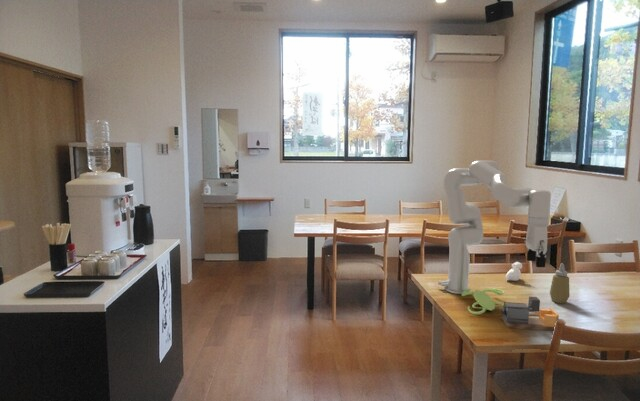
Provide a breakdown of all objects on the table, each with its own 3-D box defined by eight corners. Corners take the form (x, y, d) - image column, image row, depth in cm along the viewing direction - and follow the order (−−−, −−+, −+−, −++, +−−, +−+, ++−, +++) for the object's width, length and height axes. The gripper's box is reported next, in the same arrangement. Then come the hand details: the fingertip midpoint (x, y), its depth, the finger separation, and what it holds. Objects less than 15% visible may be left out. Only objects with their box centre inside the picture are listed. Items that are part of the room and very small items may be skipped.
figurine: (500, 297, 200) (501, 285, 199) (515, 319, 174) (516, 306, 173) (460, 294, 203) (460, 283, 203) (468, 315, 177) (469, 302, 177)
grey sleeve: (506, 322, 167) (507, 306, 166) (502, 317, 172) (504, 302, 171) (528, 324, 166) (529, 308, 165) (523, 319, 171) (524, 303, 170)
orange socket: (545, 326, 164) (546, 314, 163) (538, 319, 171) (539, 307, 170) (557, 327, 163) (558, 314, 163) (550, 320, 170) (551, 308, 169)
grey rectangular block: (508, 316, 167) (509, 298, 166) (505, 312, 171) (506, 295, 170) (540, 318, 165) (541, 300, 164) (536, 314, 169) (538, 297, 168)
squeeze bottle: (566, 299, 197) (570, 262, 195) (570, 305, 189) (574, 266, 187) (547, 297, 199) (550, 260, 197) (550, 303, 192) (554, 265, 190)
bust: (508, 286, 222) (523, 273, 215) (498, 275, 225) (512, 261, 219) (518, 281, 230) (532, 268, 223) (507, 271, 233) (521, 257, 227)
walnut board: (507, 327, 165) (508, 324, 165) (501, 318, 174) (501, 315, 174) (559, 331, 162) (560, 328, 162) (550, 321, 171) (550, 319, 171)
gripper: (520, 217, 175) (518, 258, 177) (536, 224, 158) (533, 269, 160) (539, 218, 174) (537, 258, 176) (557, 225, 157) (554, 270, 159)
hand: (535, 263), depth 168 cm, fingers open, 9 cm apart
